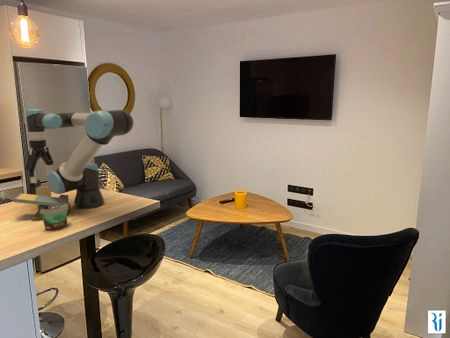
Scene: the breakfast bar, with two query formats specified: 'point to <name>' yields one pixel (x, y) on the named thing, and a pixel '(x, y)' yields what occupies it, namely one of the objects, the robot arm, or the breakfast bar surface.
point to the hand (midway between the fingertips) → (41, 179)
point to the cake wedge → (55, 217)
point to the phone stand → (34, 187)
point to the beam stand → (39, 216)
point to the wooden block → (43, 191)
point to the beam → (41, 199)
